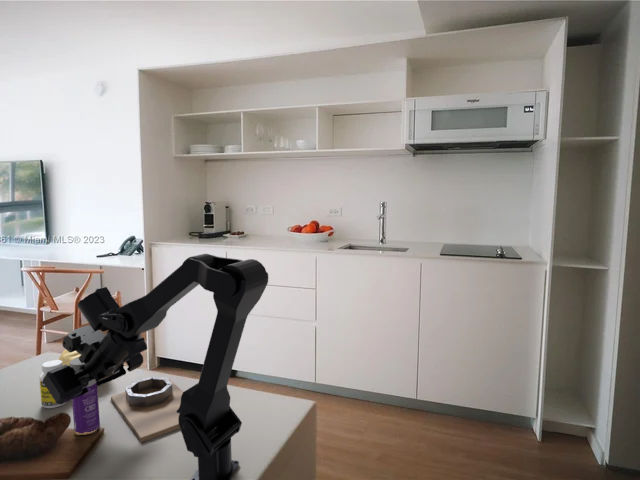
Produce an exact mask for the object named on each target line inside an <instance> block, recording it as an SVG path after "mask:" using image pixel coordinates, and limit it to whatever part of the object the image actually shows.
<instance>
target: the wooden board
mask: <svg viewBox="0 0 640 480" xmlns="http://www.w3.org/2000/svg"><path fill="white" fill-rule="evenodd" d="M168 379H169V381H170V382H171V383H172V389H173V394H172V395H171V396H170V397H169V398H168V399H167V400H166V401H165V402H163V403H160V404H156V405H153V406H149V407H136V406H129V404H128V402H127V400H126V392H125V391H124V392H120V393H117V394H113V395H111V396H110V401H111V402H112V404H113V405H114V407H115V408H116V409H117V411H118V412H119V414H120V415H121V416H122V417H123V419H124V421H125V422H126V423H127V425H128V426H129V427H130V430H132V432H133V433H134V434H135V436H136V437H137V438H138V440H139V442H140V443H143V442H146V441H149V440H152V439H155V438H157V437H161V436H163V435H165V434H168V433H170V432H173V431H176V430H179V429H180V425H179V421H178V418H179V414H180V413H177V410H178V409H179V407H180V403H181V396H182V394H183V392H184V391H183V390H182V388H180V387H179V386H178V385H177V384H175V383H174V382H173V380H171V378H168ZM161 390H162V389H154V388H152V389H148V390H144V391H140V392H138V393H137V394H145V395H146V394H150V393H154V392H158V391H161Z"/></svg>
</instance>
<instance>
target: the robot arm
mask: <svg viewBox="0 0 640 480" xmlns="http://www.w3.org/2000/svg"><path fill="white" fill-rule="evenodd" d="M268 283H269V272H267V270H266V268H265V266H264V265H263V264H262V263H261V262H260V261H258V260H257V259H252V258H251V259H245V260H242V259H237V258H232V257H231V258H230V257H229V258H228V257H223V256H216V255H214V254H213V255H212V254H209V253H202V254H197V255H193V256H189V257H188V258H186V259H185V260H184V261H183V262H182V264H181V265H180V266H178V267H177V268H176V269H175V270H174V271H173V272H172V273H170V274H169V275H168V276H167V277H166V278H164V279H163V280H162V281H161V282H160V283H159V284H157V285H156V286H155V287H154V288H153V289H152V290H150V291H149V292H148V293H146V294H145V295H144V296H142V297H140V298H137V299H135V300H132V301H130V302H128V303H125V304H124V305H122V306H120V305H119V304H118V302H117V300H116V299H115V298H114V297H113V295H112V294H111V292H110V290H109V289H108V287H106V286H103V287H99V288H96V289H95V291H94V292H92V293H90V294H88V295H87V296H85V297H84V298H82V299H81V300H79V302H78V303H77V306H76V307H77V309H78V310H79V311H80V312H81V314H82V315H83V317H84V318H85V320H86V321H87V322H88V325H85V326H82V327H79V328H76V329H72V331H71V332H68V333H67V334H66V336H64V337H63V340H62V347H63V348H64V350H67V351H69V352H70V353H71V352H74V351H77V352H78V353H79V354H81V356H80V357H79V358H78V359H79V360H80V362H81V363H85V365H83V366H81V367H80V370H81V372H78V373H77V372H75V370H74V369H73V367H70V366H68V365H63V366H61V367H58V368H56V369H53V370H51V371H48V372H47V373H46V375H45V376H44V378H43V383H44V384H45V386H46V387H47V389H48V390H49V392H50V394H51V395H52V397H53V398H54V400H55V401H56V403H57V404H64V403H65V404H66V403H68V402H70V401H72V399H74V398H77V397H79V396H81V395H83V394H85V393H87V392H89V391H88V390H87V388H86V387H87V386H88V384H89V382H90V381H92V380H94V379H95V380H96V381H97V387H99V386H102V385H104V384H107V383H109V382H111V381H114V380H116V379H118V378H120V377H122V376H125V375H126V374H127V372H129V373H130V372H133V371H134V370H136V369H139V368H141V366H142V365H143V363H144V355H143V354H142V352H144V351H146V350H148V344H147V342H146V341H145V338H144V337H142V335H141V334H143V333H146V332H149V331H150V330H151V331H152V330H154V329H157V327H159V325H160V324H161V323H162V322H163V321H164V320H165V318H166V317H167V313H168V310H169V309H170V308H171V307H173V306H174V305H175V304H176V303H178V302H179V301H180V300H181V299H183V298H184V297H185V296H186V295H187V294H189V293H190V292H191V291H192V290H194V289H195V288H196V287H198V286H201V287H202V288H203V289H204V290H205V291H208V292H210V293H213V296H212V297H213V301H214V304H215V308H216V310H217V311H216V316H215V320H214V325H213V326H212V327H213V328H212V331H211V334H210V339H209V342H208V346H207V350H206V354H205V356H204V357H205V358H204V361H203V364H202V365H203V366H202V368H201V372H200V375H199V376H200V377H199V380H198V382H197V383H196V384H194V385H193V386H191V387H189V388H187V389H186V390H185V391H183V394H182V396H181V403H180V407H179V409H178V410H177V413H180V414H179V418H178V421H179V425H180V428H179V429H180V432H181V435H182V438H183V441H184V443H185V446H186V450H187V451H188V452H189V453H192V455H193V457H194V458H197V467H198V468H197V470H196V471H195V473H194V474H193V475H192V476H191V478H190V480H232V477H233V476H234V474H235V472H236V470H237V469H238V468H239V465H240V462H239V460H232V457H233V456H232V437H234V436H235V435H236V434H238V433H239V432H240V431H241V427H242V423H243V422H242V421H241V419H240V418H239V417H238V415H237V414H236V412H235V411H234V410H233V408H232V407H231V405H230V404H231V395H230V393H229V392H230V391H229V390H228V385H229V384H228V383H229V380H230V376H231V374H232V373H231V372H232V370H233V366H234V363H235V360H236V355H237V353H238V349H239V346H240V342H241V339H242V335H243V332H244V328H245V325H246V321H247V319H248V316H249V315H250V313H251V312H252V311H253V309H254V307H255V306H256V305H257V303H258V302H259V301H260V300H261V298H262V296H263V294H264V292H265V291H266V287H267V286H268ZM103 332H106V333H105V334H104V333H103ZM125 363H126V364H127V366H128V367H127V368H126V369H125V365H124V364H125ZM88 376H89V377H88ZM86 377H87V378H86ZM65 404H64V405H65Z"/></svg>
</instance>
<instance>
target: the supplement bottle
mask: <svg viewBox="0 0 640 480" xmlns="http://www.w3.org/2000/svg"><path fill="white" fill-rule="evenodd" d="M61 366H63V364H62V361H61V360H59V359H54V360H48V361H45V362H43V363H42V365H41V371H42V373H41V374H40V376H39V389H40V400H41V401H40V402H41V406H42V408H45V409H54V408H58V407H62V406H64V405H65V404H66V403H64V404H57V403H56V401H55V400H54V398H53V397H52V395H51V394H50V392H49V390H48V389H47V387H46V386H45V384H44V383H43V378H44V376H45V375H46V373H47V372H48V371H51V370H53V369H56V368H58V367H61Z"/></svg>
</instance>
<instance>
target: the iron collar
mask: <svg viewBox="0 0 640 480" xmlns="http://www.w3.org/2000/svg"><path fill="white" fill-rule="evenodd" d="M169 379H170V378H169V377H159V376H158V377H157V376H150V377H146V378H142V379H138V380H135V381H133V382H132V383H131V384H129V385H128V386H126V387H125V391H124V392H126V400H127V402H128V404H129V406H136V407H149V406H153V405H156V404H160V403H163V402H165V401H166V400H167V399H168V398H169V397H170V396H171V395H172V394H173V389H172V383H171V382H170V381H169ZM152 388H154V389H162V390H161V391H158V392H154V393H150V394H146V395H145V394H137V393H138V392H140V391H144V390H148V389H152Z"/></svg>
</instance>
